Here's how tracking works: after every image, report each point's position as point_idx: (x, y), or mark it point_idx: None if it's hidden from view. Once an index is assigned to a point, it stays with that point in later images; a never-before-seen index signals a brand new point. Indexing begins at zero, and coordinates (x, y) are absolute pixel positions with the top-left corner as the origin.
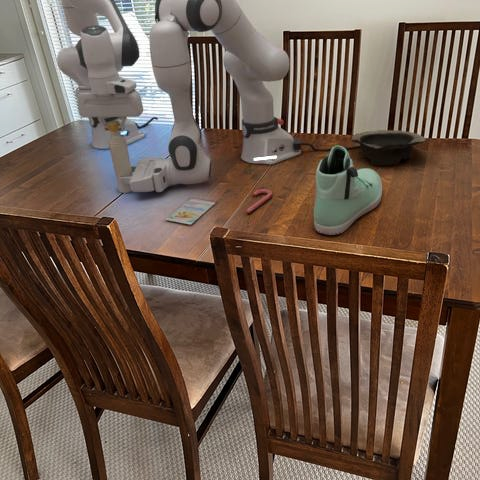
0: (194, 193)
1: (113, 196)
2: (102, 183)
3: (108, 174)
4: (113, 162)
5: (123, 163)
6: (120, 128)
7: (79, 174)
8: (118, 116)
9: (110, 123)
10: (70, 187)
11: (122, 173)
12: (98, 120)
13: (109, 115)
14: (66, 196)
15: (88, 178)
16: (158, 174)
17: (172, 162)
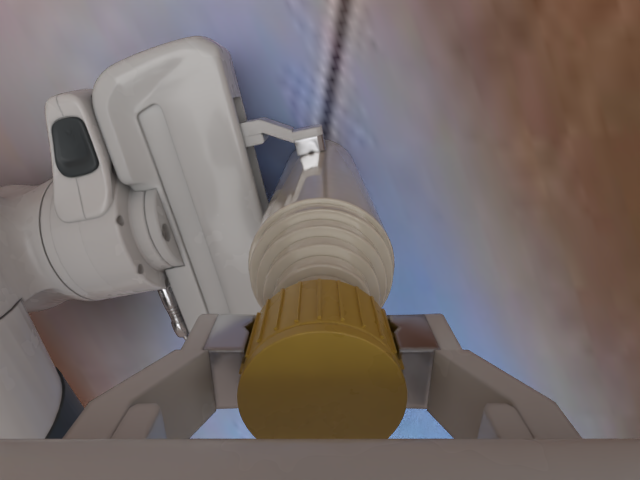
0: (5, 150)
1: (356, 101)
2: (454, 226)
3: (455, 306)
4: (354, 178)
5: (287, 176)
6: (221, 324)
7: (582, 302)
8: (114, 443)
9: (344, 367)
10: (591, 182)
11: (306, 156)
12: (553, 403)
13: (311, 462)
14: (586, 88)
15: (532, 269)
16: (47, 102)
17: (19, 231)
